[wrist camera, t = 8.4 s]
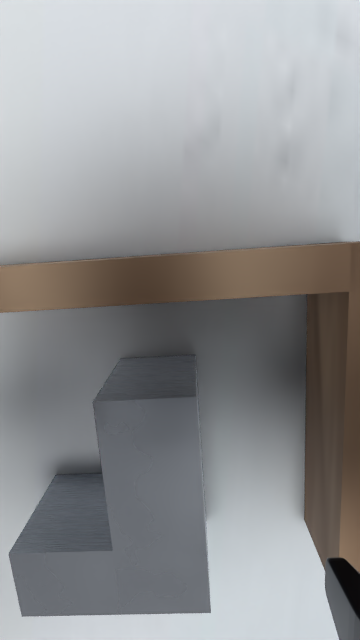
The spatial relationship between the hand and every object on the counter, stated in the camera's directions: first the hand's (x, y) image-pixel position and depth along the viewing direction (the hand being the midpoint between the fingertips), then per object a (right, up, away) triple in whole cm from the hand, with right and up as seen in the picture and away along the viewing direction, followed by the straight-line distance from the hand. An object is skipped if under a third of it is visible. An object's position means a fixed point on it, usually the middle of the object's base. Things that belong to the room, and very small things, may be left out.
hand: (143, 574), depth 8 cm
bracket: (-2, 0, +8) cm, 9 cm away
